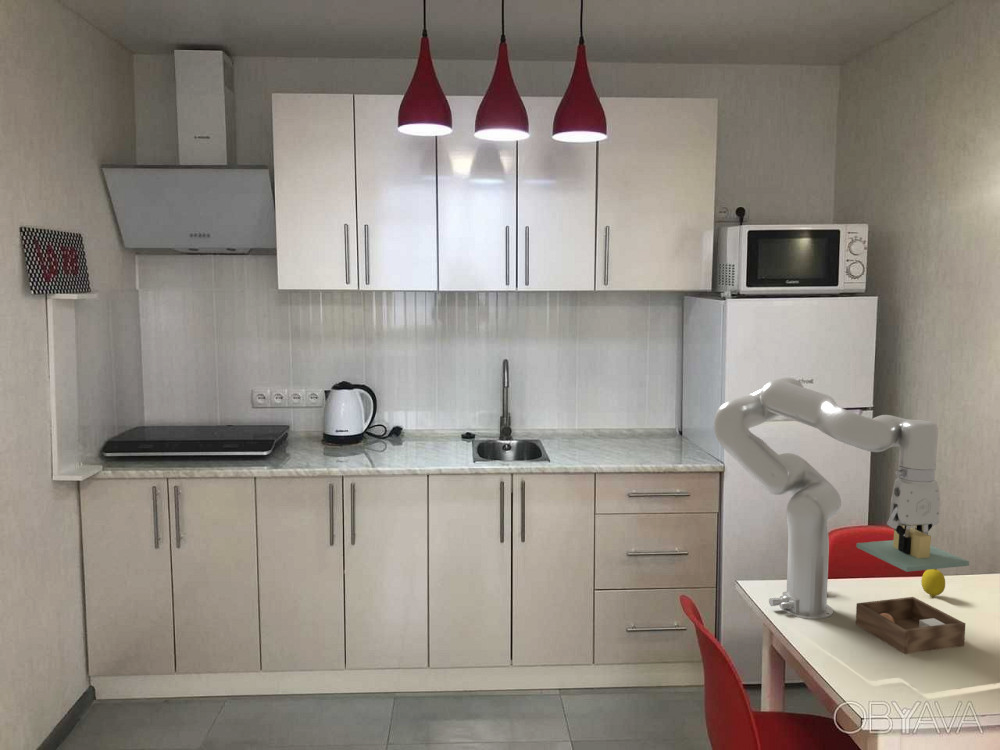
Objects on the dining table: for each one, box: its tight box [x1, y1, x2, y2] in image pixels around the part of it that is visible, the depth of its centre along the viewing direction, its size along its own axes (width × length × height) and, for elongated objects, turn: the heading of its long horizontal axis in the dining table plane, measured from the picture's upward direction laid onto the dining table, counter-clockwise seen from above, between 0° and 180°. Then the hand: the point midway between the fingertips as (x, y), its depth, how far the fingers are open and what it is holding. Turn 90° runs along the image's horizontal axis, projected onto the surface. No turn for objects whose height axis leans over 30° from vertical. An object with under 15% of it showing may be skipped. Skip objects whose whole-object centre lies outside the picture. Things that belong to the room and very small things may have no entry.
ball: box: [880, 613, 895, 623], centre depth 187 cm, size 4×4×4 cm
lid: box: [855, 525, 970, 573], centre depth 182 cm, size 16×16×6 cm
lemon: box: [920, 569, 946, 598], centre depth 208 cm, size 6×6×8 cm
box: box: [855, 596, 966, 655], centre depth 184 cm, size 16×16×6 cm
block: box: [919, 618, 944, 628], centre depth 182 cm, size 4×4×4 cm
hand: (911, 550), depth 183 cm, fingers closed on lid, 3 cm apart
